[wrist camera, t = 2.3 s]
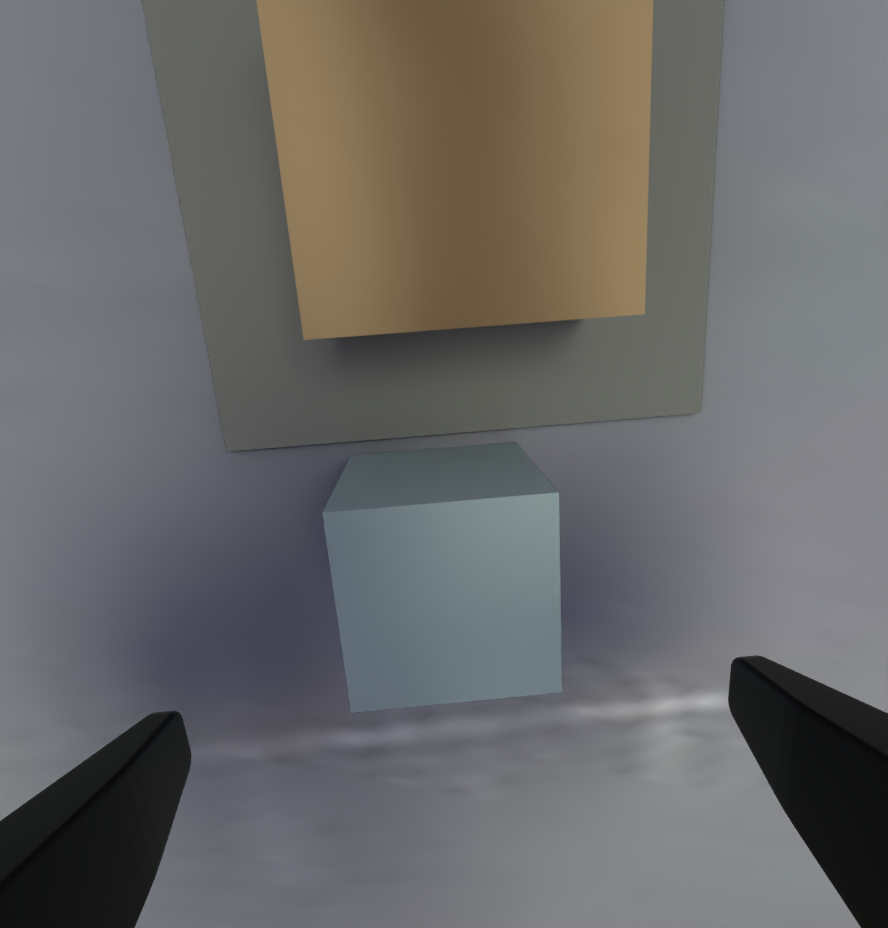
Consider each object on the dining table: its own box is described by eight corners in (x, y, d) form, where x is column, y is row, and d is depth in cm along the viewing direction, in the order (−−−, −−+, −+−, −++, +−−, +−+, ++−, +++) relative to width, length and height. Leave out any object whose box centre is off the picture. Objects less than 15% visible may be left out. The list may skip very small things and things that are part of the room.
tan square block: (583, 21, 13) (656, -112, 9) (584, 316, 15) (644, 314, 11) (297, 38, 13) (244, -89, 9) (334, 335, 14) (303, 340, 10)
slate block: (515, 441, 16) (559, 492, 11) (521, 588, 17) (562, 692, 12) (351, 455, 16) (321, 512, 11) (369, 602, 17) (350, 712, 12)
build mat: (722, -78, 13) (729, -88, 12) (696, 411, 16) (701, 412, 15) (138, -46, 12) (131, -56, 12) (230, 449, 15) (226, 451, 15)
